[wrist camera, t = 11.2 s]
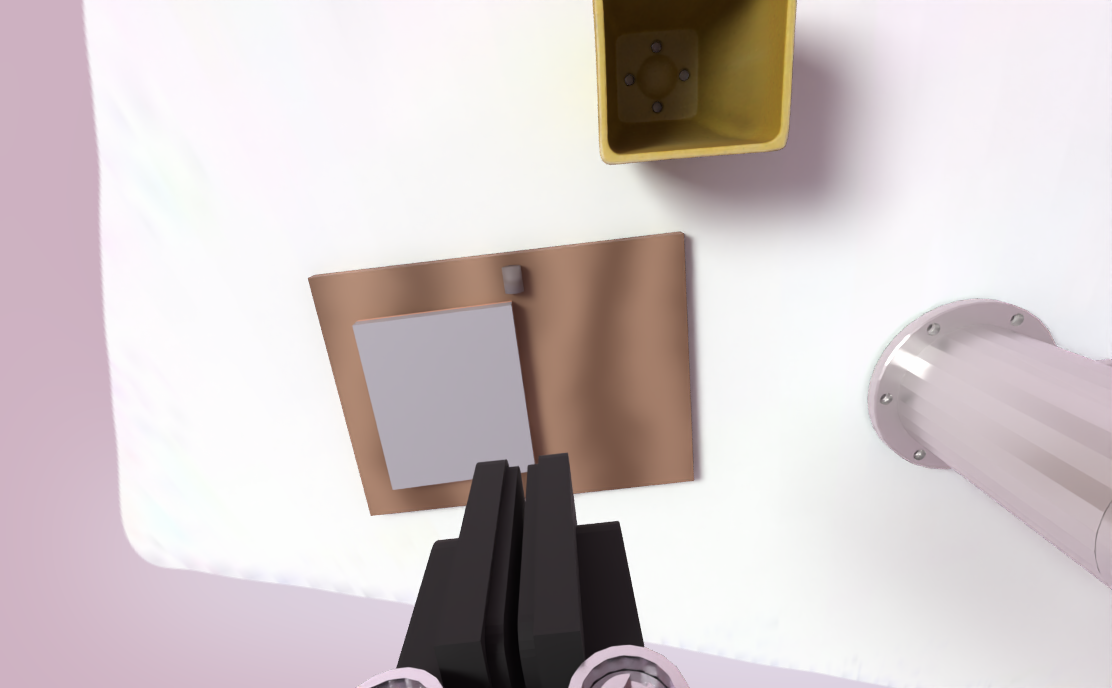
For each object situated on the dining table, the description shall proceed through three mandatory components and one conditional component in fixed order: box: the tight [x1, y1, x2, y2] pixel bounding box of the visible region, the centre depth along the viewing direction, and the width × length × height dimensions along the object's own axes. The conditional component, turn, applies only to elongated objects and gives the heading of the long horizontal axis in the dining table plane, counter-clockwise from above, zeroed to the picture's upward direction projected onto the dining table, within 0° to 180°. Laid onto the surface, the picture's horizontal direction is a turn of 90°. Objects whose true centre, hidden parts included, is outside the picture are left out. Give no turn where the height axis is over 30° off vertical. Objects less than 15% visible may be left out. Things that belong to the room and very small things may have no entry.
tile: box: [352, 301, 535, 490], centre depth 37 cm, size 10×12×1 cm
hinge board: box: [308, 232, 694, 516], centre depth 37 cm, size 24×18×2 cm
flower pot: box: [593, 0, 797, 165], centre depth 28 cm, size 9×9×9 cm
